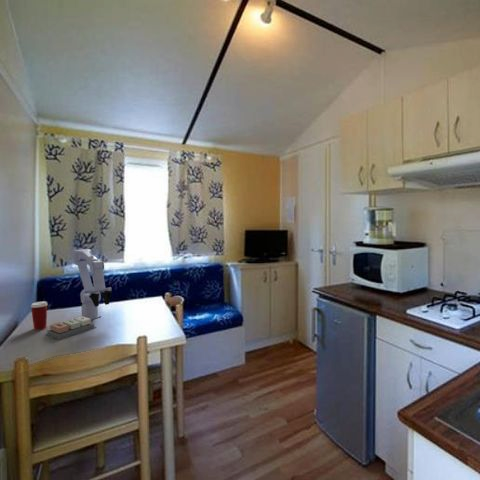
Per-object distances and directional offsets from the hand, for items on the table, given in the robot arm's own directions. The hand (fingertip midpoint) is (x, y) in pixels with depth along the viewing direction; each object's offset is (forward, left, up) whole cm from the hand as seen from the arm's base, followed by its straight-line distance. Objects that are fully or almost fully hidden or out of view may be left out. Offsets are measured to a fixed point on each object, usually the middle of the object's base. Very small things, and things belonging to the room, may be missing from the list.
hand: (102, 305), depth 162 cm
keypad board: (-5, -14, -11) cm, 19 cm away
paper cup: (-24, -21, -11) cm, 34 cm away
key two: (-5, -14, -9) cm, 18 cm away
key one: (-5, -8, -9) cm, 13 cm away
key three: (-5, -20, -9) cm, 23 cm away
